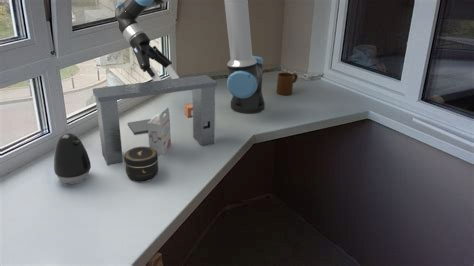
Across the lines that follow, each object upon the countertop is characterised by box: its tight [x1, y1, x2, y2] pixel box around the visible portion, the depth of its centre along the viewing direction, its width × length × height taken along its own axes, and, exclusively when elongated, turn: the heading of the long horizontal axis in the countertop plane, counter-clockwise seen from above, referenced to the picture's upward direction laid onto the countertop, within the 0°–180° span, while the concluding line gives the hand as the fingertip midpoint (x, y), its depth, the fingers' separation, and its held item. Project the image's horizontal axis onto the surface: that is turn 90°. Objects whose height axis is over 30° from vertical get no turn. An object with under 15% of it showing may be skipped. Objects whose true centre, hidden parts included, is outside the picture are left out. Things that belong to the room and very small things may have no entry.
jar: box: [123, 146, 159, 183], centre depth 127 cm, size 10×10×8 cm
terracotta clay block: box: [183, 103, 208, 126], centre depth 152 cm, size 16×4×4 cm, turn 28°
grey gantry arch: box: [92, 74, 218, 166], centre depth 140 cm, size 9×39×24 cm, turn 118°
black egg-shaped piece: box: [53, 132, 92, 185], centre depth 122 cm, size 10×10×15 cm
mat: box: [127, 118, 152, 136], centre depth 161 cm, size 10×10×1 cm
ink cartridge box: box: [147, 107, 172, 156], centre depth 142 cm, size 9×5×15 cm, turn 168°
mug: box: [276, 72, 298, 96], centre depth 202 cm, size 12×8×9 cm, turn 129°
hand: (168, 81), depth 162 cm, fingers open, 13 cm apart
